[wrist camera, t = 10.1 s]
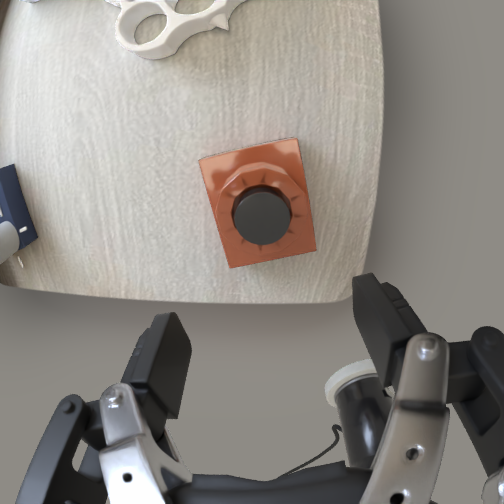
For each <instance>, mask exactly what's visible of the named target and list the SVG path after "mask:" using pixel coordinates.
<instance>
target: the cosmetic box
mask: <svg viewBox="0 0 504 504" xmlns="http://www.w3.org/2000/svg"><path fill="white" fill-rule="evenodd" d="M21 1H25V2H29V3H34V2H36V1H39V0H21Z"/></svg>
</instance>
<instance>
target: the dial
mask: <svg viewBox="0 0 504 504" xmlns="http://www.w3.org/2000/svg"><path fill="white" fill-rule="evenodd" d="M19 244H20V242H19V236H18V233H17V231H16V229H15V227H14V226H13V225H12V224H11V223H10V222H8V221H4V222H3V223H1V224H0V264H1V263H2V262H4V261H5V260H6V259H7V258H9V257H10V256H11V255H12V254H14V253H15V252H16V251H17V250H18V249H19Z"/></svg>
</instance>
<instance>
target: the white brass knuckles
mask: <svg viewBox="0 0 504 504" xmlns="http://www.w3.org/2000/svg"><path fill="white" fill-rule="evenodd" d="M104 1H106V2H109V3H111V4H113V5H115V6H117V7H119V8H121V13H120V15H119V17H118V19H117V22H116V25H115V36H116V39H117V41H118V43H119V44H120V45H121V46H122V47H123V48H125V49H126V50H128V51H130V52H132V53H134V54H136V55H138V56H140V57H142V58H146V59H161V58H165V57H168V56H170V55H173V54H175V53H176V51H177V49H178V48H179V46H180V45H181V44H182V43H183V42H184V41H185V40H186V39H187V38H189V37H190V36H192V35H194V34H196V33H199V32H202V31H209V30H211V29H213V28H215V27H216V26H217V27H220V28H223V29H226V30H228V31H229V27H228V21H227V20H229V18H230V15H231V13H232V11H233V10H234V9H235V8H236V7H237V6H238V5H239V4H241V3H242V2H244V1H246V0H215V1H214V3H213V4H212V5H211V6H210V7H209V8H207V9H206V10H204V11H202V12H200V13H197V14H191V15H184V14H179V13H177V12H175V6H176V3H177V2H178V0H136V1H134V0H104ZM154 14H164V15H166V16H167V24H166V27H165V29H164V30H163V32H162V33H161V34H160V35H159V36H158V37H157V38H155V39H154V40H152V41H150V42H148V43H145V44H140V45H138V44H137V43H136V41H135V38H134V33H135V30H136V27H137V26H138V24H139V23H140V22H141V21H142V20H144V19H145V18H146V17H148V16H151V15H154Z"/></svg>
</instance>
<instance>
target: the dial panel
mask: <svg viewBox="0 0 504 504" xmlns="http://www.w3.org/2000/svg"><path fill="white" fill-rule="evenodd" d="M4 221H8V222H10V223H11V224H12V225H13V226H14V227H15V229H16V231H17V233H18V236H19V242H20V244H19V249H18V250H20V249H22V248H24V247H26V246H27V245H28V244H30V243H31V242H33V241H34V240H35V239H37V238H38V236H37V233H36V231H35V228H34V226H33V223H32V221H31V218H30V215H29V212H28V210H27V207H26V204H25V201H24V198H23V195H22V191H21V188H20V185H19V182H18V178H17V174H16V171H15V167H14V164H12V165H9V166H6V167H3V168H0V224H1V223H3V222H4ZM18 250H17V251H18ZM17 258H18V260H19V262H20V264H21V266H22V267H24V265H23V263H22V261H21V259H20V257H17Z"/></svg>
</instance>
